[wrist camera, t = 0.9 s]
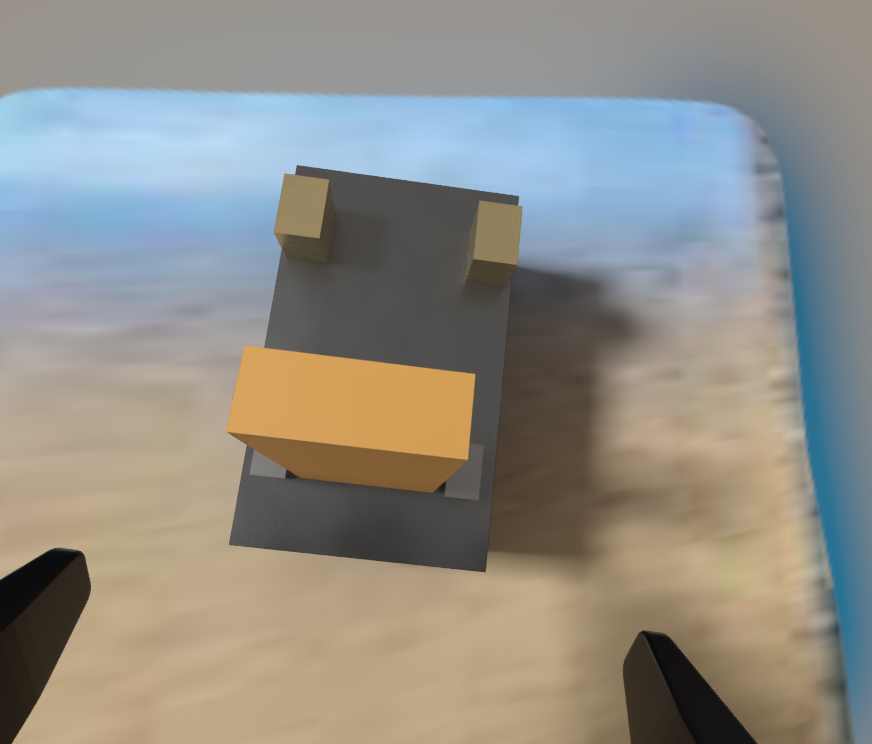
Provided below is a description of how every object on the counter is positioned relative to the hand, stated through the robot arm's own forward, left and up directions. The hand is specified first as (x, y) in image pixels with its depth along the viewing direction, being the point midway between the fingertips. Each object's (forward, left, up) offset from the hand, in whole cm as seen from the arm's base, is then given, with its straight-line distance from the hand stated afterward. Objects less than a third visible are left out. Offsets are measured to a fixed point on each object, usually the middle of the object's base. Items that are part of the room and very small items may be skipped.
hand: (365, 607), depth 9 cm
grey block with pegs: (+6, -2, -15) cm, 16 cm away
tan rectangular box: (+4, -1, -4) cm, 6 cm away
